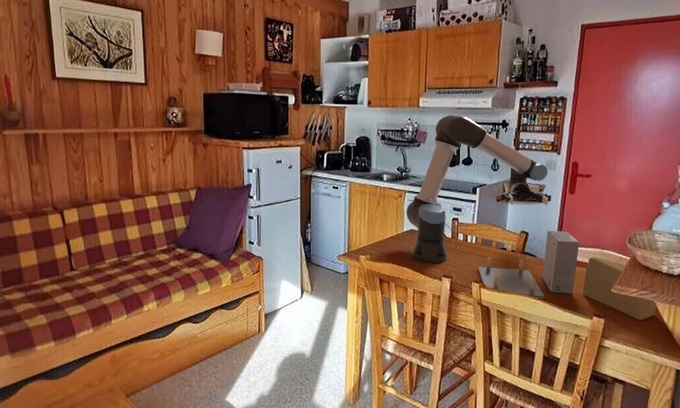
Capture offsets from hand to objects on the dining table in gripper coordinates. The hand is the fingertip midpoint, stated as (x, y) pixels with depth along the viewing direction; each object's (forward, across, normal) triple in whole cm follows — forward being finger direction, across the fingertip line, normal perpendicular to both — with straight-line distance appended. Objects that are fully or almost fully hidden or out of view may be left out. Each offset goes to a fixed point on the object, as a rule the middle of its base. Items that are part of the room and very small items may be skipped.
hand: (529, 201), depth 190 cm
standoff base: (+23, +10, -28) cm, 38 cm away
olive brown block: (+35, -24, -29) cm, 51 cm away
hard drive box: (+21, -8, -29) cm, 36 cm away
